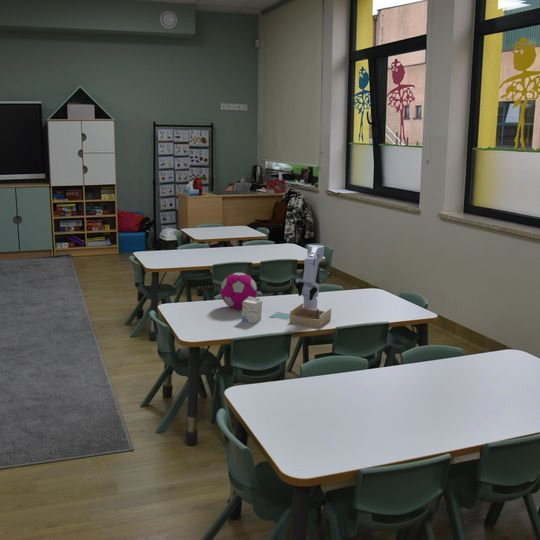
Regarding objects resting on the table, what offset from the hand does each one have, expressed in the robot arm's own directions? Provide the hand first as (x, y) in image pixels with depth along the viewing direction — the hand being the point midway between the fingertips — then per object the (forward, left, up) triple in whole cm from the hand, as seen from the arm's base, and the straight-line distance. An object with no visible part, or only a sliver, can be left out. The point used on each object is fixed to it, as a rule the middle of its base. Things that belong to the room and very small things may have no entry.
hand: (305, 297), depth 386 cm
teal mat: (-2, -15, -14) cm, 21 cm away
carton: (-2, +3, -14) cm, 15 cm away
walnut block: (-2, +3, -14) cm, 14 cm away
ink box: (+14, -27, -14) cm, 34 cm away
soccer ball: (-4, -45, -14) cm, 47 cm away
